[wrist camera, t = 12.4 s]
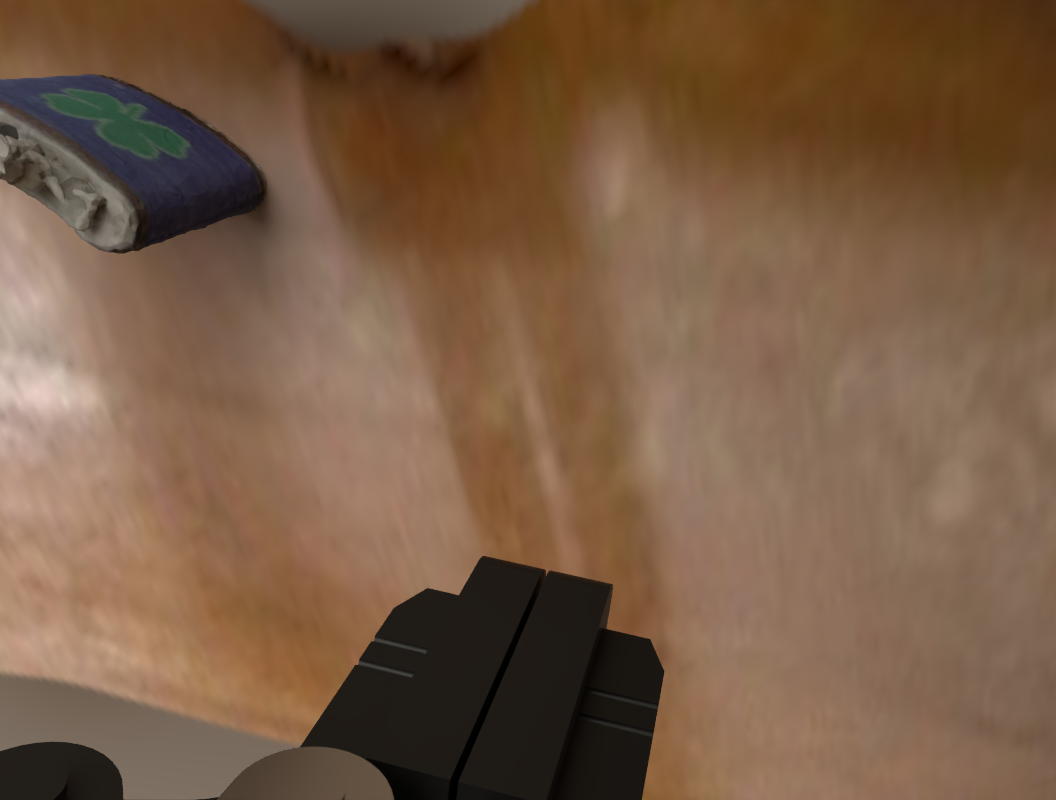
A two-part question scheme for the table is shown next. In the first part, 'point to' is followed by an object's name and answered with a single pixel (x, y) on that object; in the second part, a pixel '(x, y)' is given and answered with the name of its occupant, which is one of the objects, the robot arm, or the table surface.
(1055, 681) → the table surface
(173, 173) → the flask
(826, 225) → the table surface
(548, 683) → the robot arm
